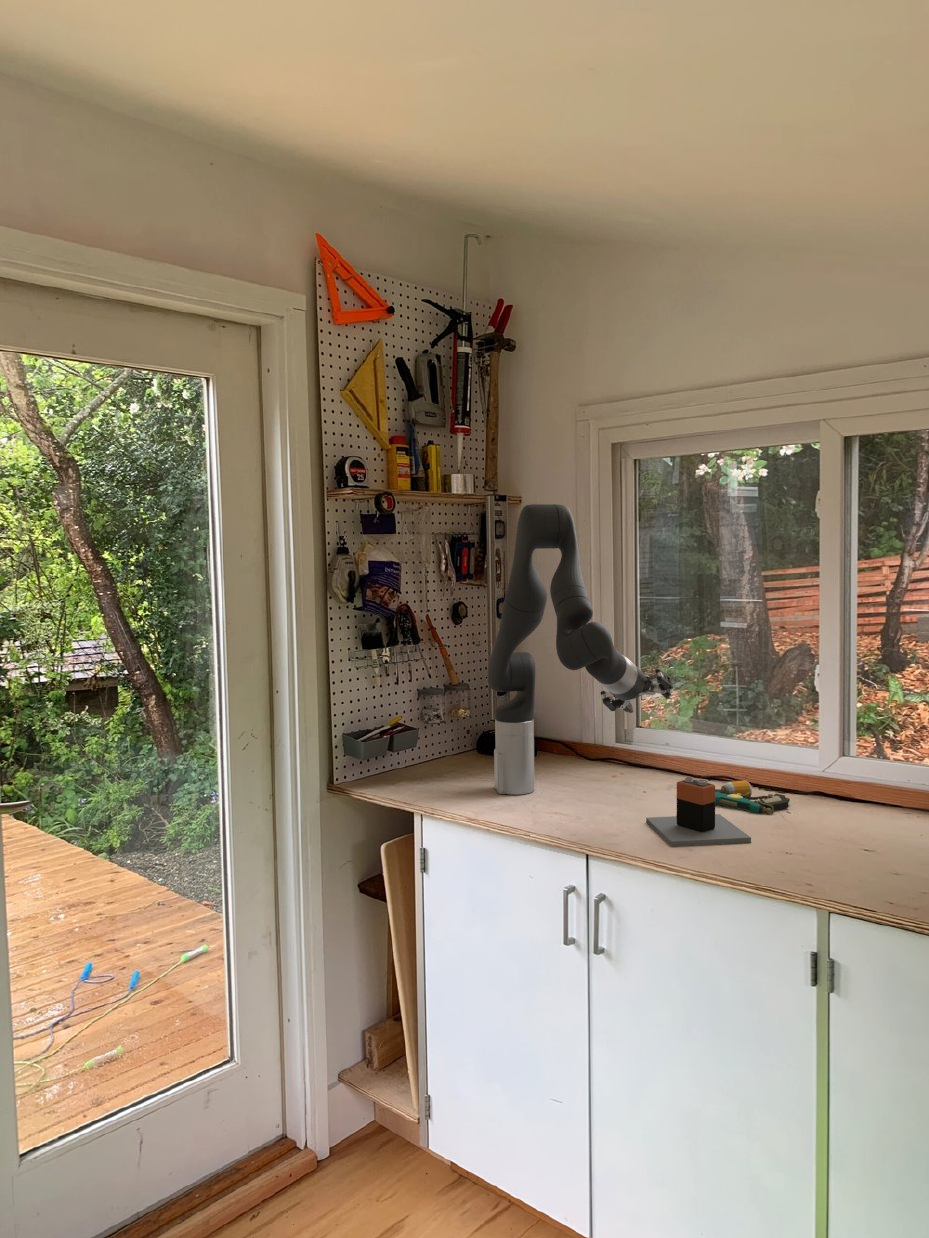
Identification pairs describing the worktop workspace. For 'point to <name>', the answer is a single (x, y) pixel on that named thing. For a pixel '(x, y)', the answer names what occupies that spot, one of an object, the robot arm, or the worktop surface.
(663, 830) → the mat
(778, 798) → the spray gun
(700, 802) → the battery
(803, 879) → the worktop surface
